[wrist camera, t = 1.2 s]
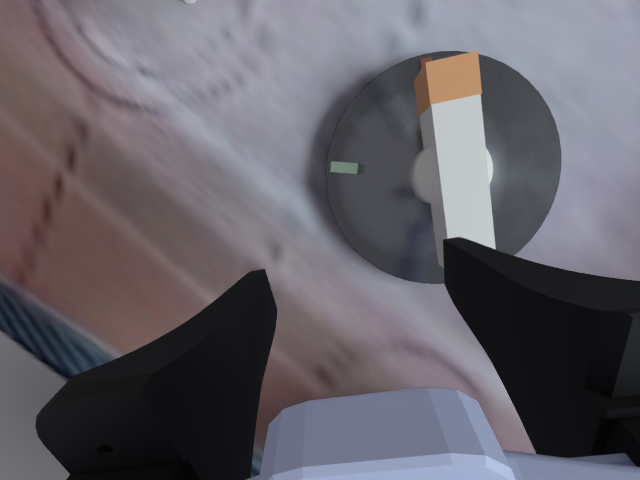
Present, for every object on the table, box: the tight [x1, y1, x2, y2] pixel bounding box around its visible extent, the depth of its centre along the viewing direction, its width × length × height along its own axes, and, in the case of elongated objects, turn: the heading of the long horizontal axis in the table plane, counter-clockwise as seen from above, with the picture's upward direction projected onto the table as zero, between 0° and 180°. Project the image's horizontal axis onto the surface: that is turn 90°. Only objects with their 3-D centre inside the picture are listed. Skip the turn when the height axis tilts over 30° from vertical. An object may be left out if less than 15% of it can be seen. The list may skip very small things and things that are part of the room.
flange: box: [326, 51, 561, 284], centre depth 21 cm, size 15×15×2 cm
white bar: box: [409, 51, 496, 268], centre depth 18 cm, size 11×4×4 cm, turn 11°
